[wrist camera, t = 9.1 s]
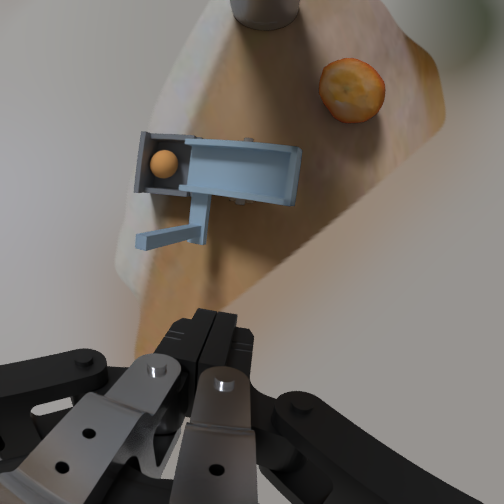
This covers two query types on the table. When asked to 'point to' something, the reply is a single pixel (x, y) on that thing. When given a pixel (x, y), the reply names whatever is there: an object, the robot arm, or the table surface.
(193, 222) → the lever
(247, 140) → the fulcrum
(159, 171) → the ball
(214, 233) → the table surface
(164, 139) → the tray
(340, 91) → the fruit
